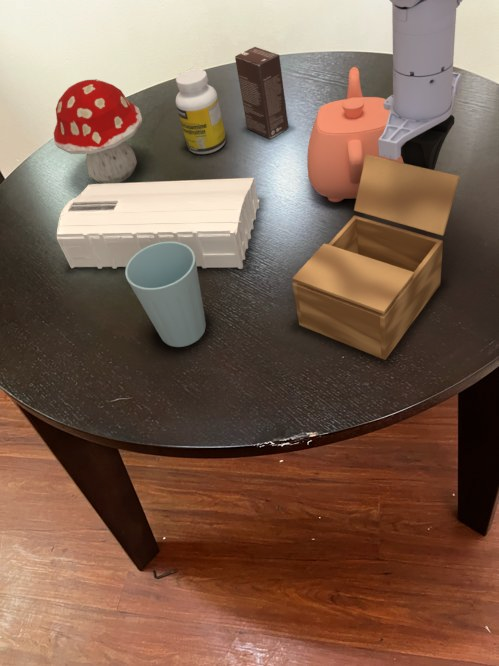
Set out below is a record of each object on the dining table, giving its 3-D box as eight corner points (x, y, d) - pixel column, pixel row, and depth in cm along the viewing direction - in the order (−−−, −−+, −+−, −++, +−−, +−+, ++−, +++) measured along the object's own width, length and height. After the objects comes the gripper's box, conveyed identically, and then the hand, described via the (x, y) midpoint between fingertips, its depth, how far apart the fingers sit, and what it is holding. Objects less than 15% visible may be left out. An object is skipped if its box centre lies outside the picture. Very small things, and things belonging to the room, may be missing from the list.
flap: (353, 210, 75) (355, 210, 75) (442, 235, 69) (443, 235, 70) (365, 154, 72) (367, 154, 73) (458, 176, 67) (460, 175, 67)
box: (290, 127, 104) (280, 53, 95) (269, 140, 102) (257, 66, 94) (266, 116, 108) (254, 44, 99) (245, 128, 106) (232, 56, 97)
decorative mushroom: (65, 205, 100) (24, 116, 89) (81, 156, 109) (46, 70, 98) (153, 192, 98) (122, 99, 87) (161, 143, 107) (134, 54, 97)
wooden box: (357, 257, 80) (354, 209, 75) (440, 284, 75) (443, 234, 69) (299, 325, 74) (291, 278, 69) (385, 360, 68) (384, 312, 63)
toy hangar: (265, 199, 92) (257, 156, 87) (246, 269, 82) (236, 225, 77) (103, 204, 98) (87, 165, 93) (68, 270, 88) (48, 229, 83)
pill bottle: (180, 147, 105) (161, 79, 97) (211, 129, 108) (195, 61, 99) (203, 160, 102) (185, 91, 93) (235, 142, 104) (220, 72, 95)
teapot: (402, 136, 97) (402, 56, 88) (411, 219, 83) (412, 135, 75) (312, 145, 99) (304, 68, 91) (307, 227, 86) (296, 146, 77)
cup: (139, 332, 78) (111, 267, 70) (190, 298, 80) (168, 231, 73) (174, 365, 73) (149, 299, 66) (227, 328, 76) (208, 260, 68)
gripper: (419, 26, 69) (417, 140, 78) (348, 91, 62) (355, 207, 71) (484, 34, 65) (473, 152, 75) (416, 104, 58) (414, 224, 68)
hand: (419, 180), depth 73 cm, fingers closed
